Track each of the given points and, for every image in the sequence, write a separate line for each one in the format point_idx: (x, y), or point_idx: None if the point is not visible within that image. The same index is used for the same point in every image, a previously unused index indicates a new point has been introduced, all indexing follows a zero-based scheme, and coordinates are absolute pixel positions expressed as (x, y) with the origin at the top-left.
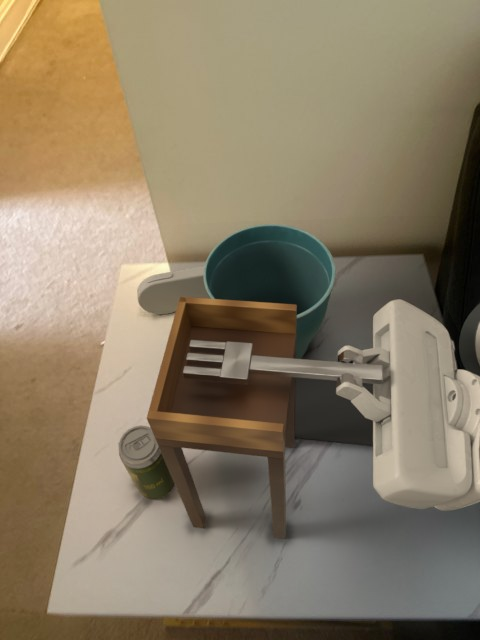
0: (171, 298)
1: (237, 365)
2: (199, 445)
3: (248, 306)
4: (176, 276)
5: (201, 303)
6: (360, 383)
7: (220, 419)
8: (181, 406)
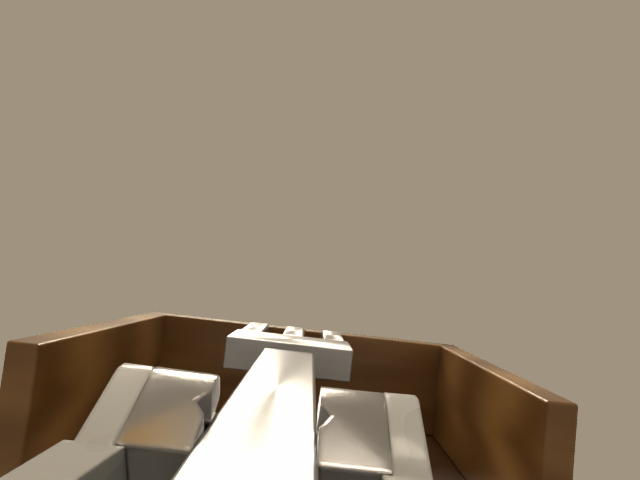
0: None
1: (272, 337)
2: None
3: (488, 369)
4: None
5: (451, 350)
6: (148, 435)
7: (113, 324)
8: None
